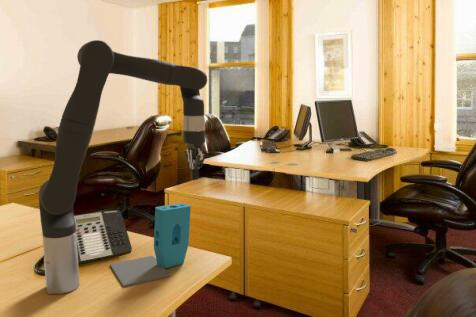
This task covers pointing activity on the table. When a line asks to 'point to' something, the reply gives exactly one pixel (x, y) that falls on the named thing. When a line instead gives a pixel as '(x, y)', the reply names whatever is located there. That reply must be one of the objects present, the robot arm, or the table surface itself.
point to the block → (171, 234)
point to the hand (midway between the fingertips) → (194, 179)
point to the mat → (138, 271)
